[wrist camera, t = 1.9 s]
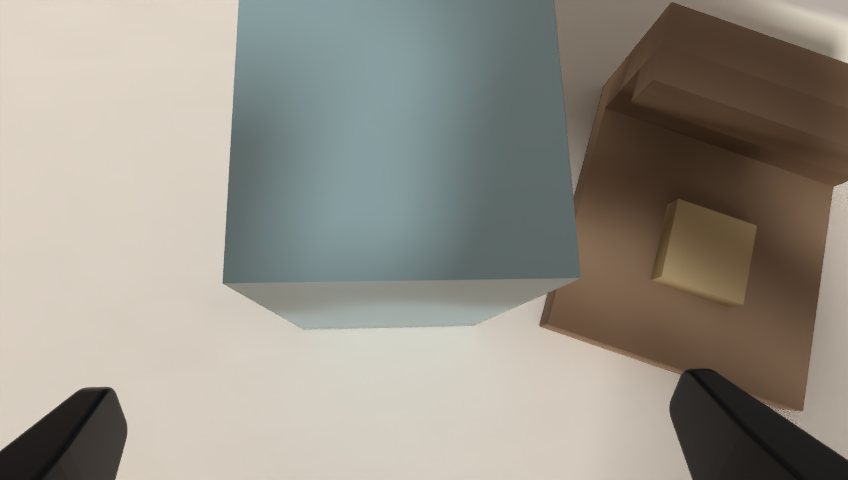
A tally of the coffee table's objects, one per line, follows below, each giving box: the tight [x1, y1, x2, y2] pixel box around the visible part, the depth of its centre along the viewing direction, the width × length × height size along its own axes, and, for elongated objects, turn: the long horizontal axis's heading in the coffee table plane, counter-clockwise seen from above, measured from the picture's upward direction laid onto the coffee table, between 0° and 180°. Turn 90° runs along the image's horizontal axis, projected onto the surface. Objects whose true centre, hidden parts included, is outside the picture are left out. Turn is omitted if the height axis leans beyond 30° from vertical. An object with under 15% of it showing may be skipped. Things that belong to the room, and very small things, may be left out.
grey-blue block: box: [223, 0, 581, 329], centre depth 16 cm, size 8×6×11 cm
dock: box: [540, 2, 848, 411], centre depth 20 cm, size 11×10×6 cm
